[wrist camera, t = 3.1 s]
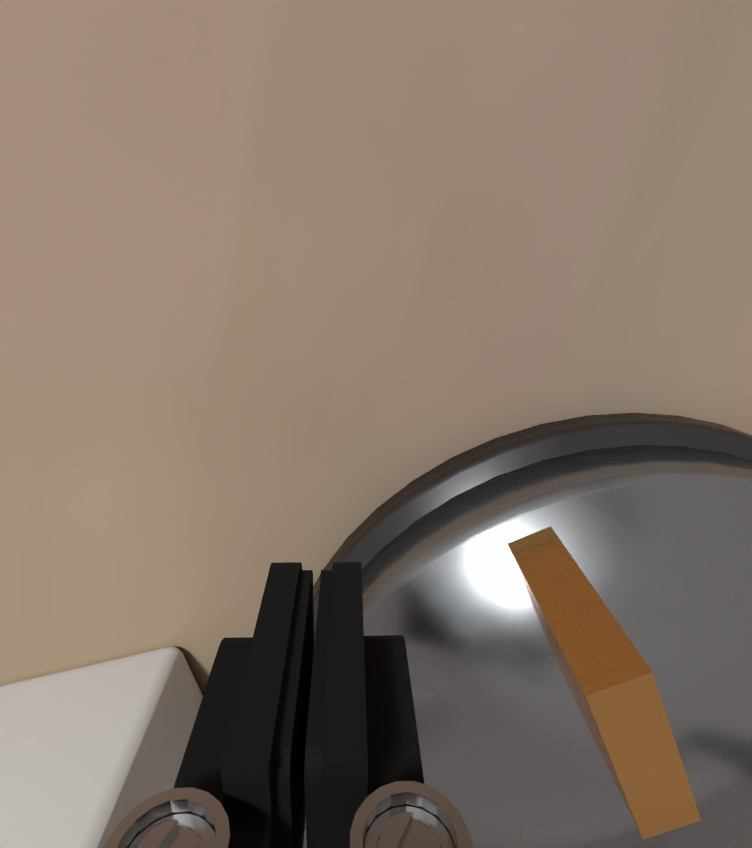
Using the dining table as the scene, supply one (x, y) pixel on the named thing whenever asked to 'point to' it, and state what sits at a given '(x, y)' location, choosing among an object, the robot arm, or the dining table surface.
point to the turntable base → (523, 452)
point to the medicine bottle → (91, 747)
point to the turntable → (583, 649)
